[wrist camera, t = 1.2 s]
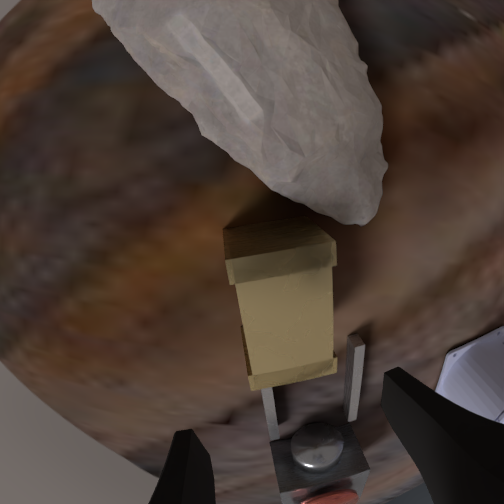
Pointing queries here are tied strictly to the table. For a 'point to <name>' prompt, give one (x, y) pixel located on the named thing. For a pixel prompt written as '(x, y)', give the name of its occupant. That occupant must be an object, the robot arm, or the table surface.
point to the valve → (322, 448)
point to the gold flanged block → (283, 299)
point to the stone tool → (268, 91)
